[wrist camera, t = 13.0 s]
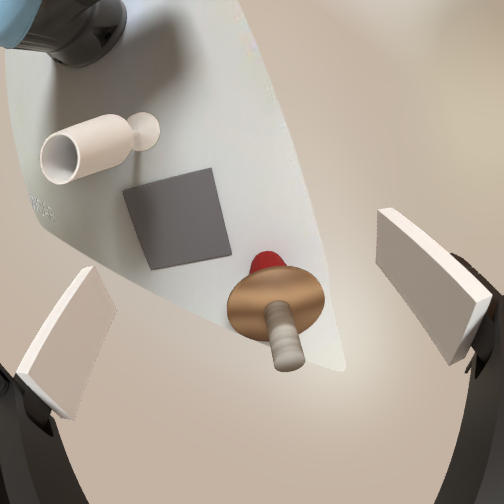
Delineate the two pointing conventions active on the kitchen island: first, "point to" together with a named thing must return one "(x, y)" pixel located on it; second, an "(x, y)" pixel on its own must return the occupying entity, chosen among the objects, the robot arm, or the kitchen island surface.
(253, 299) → the lid
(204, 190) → the mat
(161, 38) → the kitchen island surface
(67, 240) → the kitchen island surface
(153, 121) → the champagne flute
